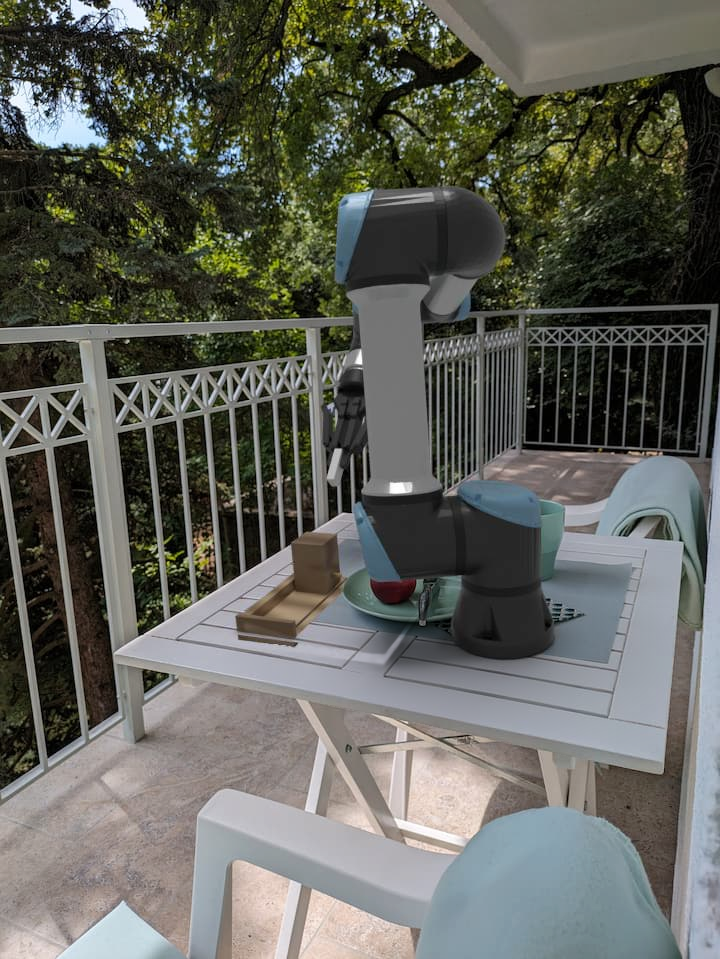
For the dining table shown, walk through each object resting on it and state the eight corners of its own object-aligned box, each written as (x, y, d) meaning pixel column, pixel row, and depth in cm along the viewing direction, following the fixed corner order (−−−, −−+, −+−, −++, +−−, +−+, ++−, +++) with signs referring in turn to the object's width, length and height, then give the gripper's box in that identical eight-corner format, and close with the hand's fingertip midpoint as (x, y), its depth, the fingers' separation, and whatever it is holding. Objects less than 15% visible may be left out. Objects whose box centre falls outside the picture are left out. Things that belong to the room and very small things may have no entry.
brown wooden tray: (306, 581, 136) (304, 561, 135) (356, 586, 132) (354, 565, 131) (238, 639, 115) (235, 616, 114) (294, 647, 111) (292, 623, 110)
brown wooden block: (310, 578, 133) (306, 531, 131) (348, 582, 130) (345, 534, 128) (295, 591, 128) (290, 542, 125) (335, 595, 125) (330, 546, 122)
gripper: (397, 389, 144) (372, 494, 134) (337, 389, 149) (308, 491, 139) (386, 365, 138) (358, 473, 128) (324, 367, 143) (292, 471, 133)
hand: (332, 482), depth 134 cm, fingers closed
